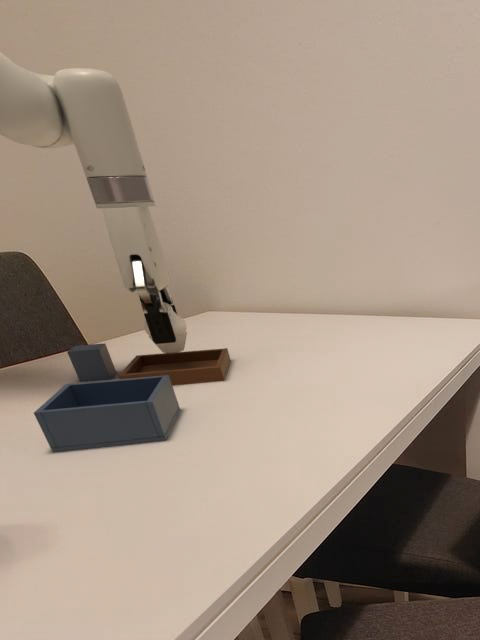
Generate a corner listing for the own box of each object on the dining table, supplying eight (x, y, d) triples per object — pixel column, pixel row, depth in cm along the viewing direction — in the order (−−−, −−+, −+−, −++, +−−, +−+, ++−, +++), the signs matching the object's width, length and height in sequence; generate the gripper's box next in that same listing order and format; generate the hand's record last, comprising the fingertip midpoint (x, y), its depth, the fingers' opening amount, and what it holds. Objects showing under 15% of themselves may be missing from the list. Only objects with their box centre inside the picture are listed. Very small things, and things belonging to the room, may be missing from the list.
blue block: (79, 382, 93) (66, 351, 90) (87, 375, 96) (74, 345, 93) (110, 379, 94) (98, 349, 91) (116, 373, 97) (105, 343, 94)
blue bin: (52, 453, 68) (33, 412, 65) (81, 420, 77) (65, 383, 75) (166, 441, 70) (152, 401, 67) (180, 410, 80) (168, 374, 77)
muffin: (176, 345, 96) (160, 296, 92) (202, 348, 94) (187, 298, 89) (143, 353, 92) (125, 302, 88) (169, 357, 90) (152, 304, 85)
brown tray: (123, 390, 88) (118, 375, 87) (140, 368, 99) (136, 355, 98) (224, 381, 91) (220, 366, 90) (230, 361, 102) (227, 348, 100)
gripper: (107, 194, 86) (153, 329, 98) (75, 196, 73) (132, 352, 84) (161, 192, 88) (200, 326, 99) (139, 194, 75) (187, 348, 86)
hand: (168, 337), depth 92 cm, fingers closed on muffin, 6 cm apart
